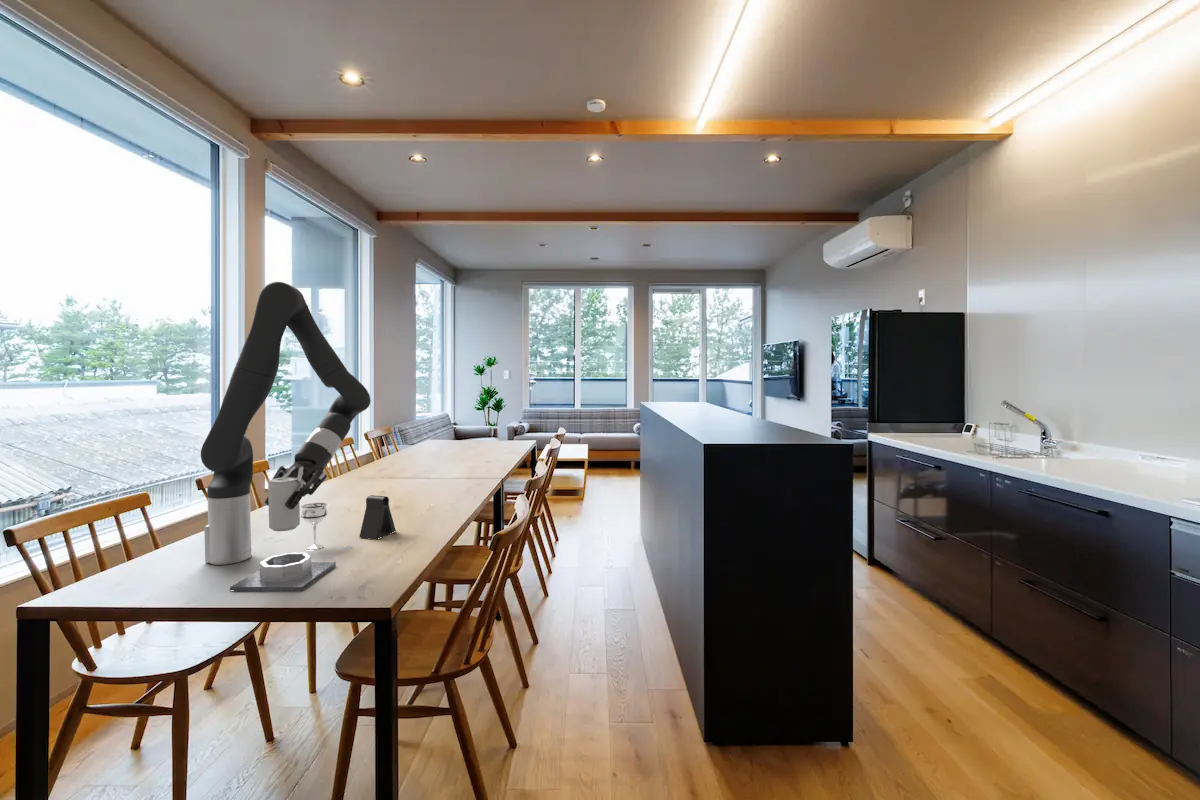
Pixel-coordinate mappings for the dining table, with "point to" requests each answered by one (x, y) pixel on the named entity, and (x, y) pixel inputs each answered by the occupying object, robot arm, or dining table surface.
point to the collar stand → (284, 573)
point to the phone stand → (377, 518)
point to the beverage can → (282, 504)
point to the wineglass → (314, 518)
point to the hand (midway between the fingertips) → (278, 506)
